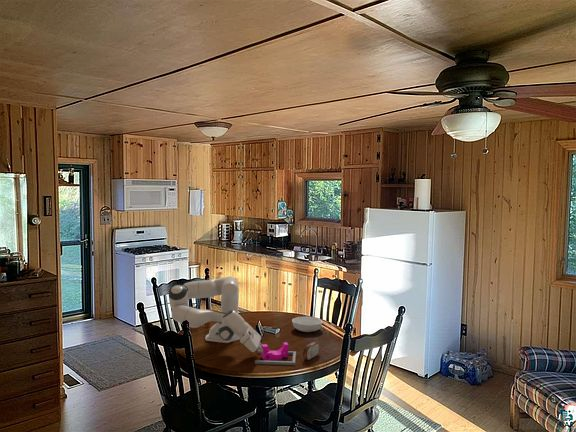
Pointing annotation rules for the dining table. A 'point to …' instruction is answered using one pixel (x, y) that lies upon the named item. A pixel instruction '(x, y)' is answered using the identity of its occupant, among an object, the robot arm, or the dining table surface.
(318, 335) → the dining table surface
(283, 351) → the toy block
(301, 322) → the serving bowl
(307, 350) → the tin
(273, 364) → the frame
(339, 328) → the dining table surface
